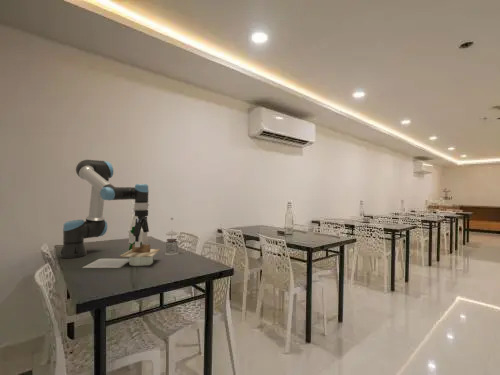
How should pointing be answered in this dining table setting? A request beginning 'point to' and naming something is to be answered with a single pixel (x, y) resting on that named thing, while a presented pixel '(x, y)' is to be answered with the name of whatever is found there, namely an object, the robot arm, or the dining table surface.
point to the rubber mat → (107, 263)
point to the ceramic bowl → (140, 261)
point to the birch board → (129, 253)
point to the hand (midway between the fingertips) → (141, 244)
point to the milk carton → (132, 238)
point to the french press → (172, 244)
